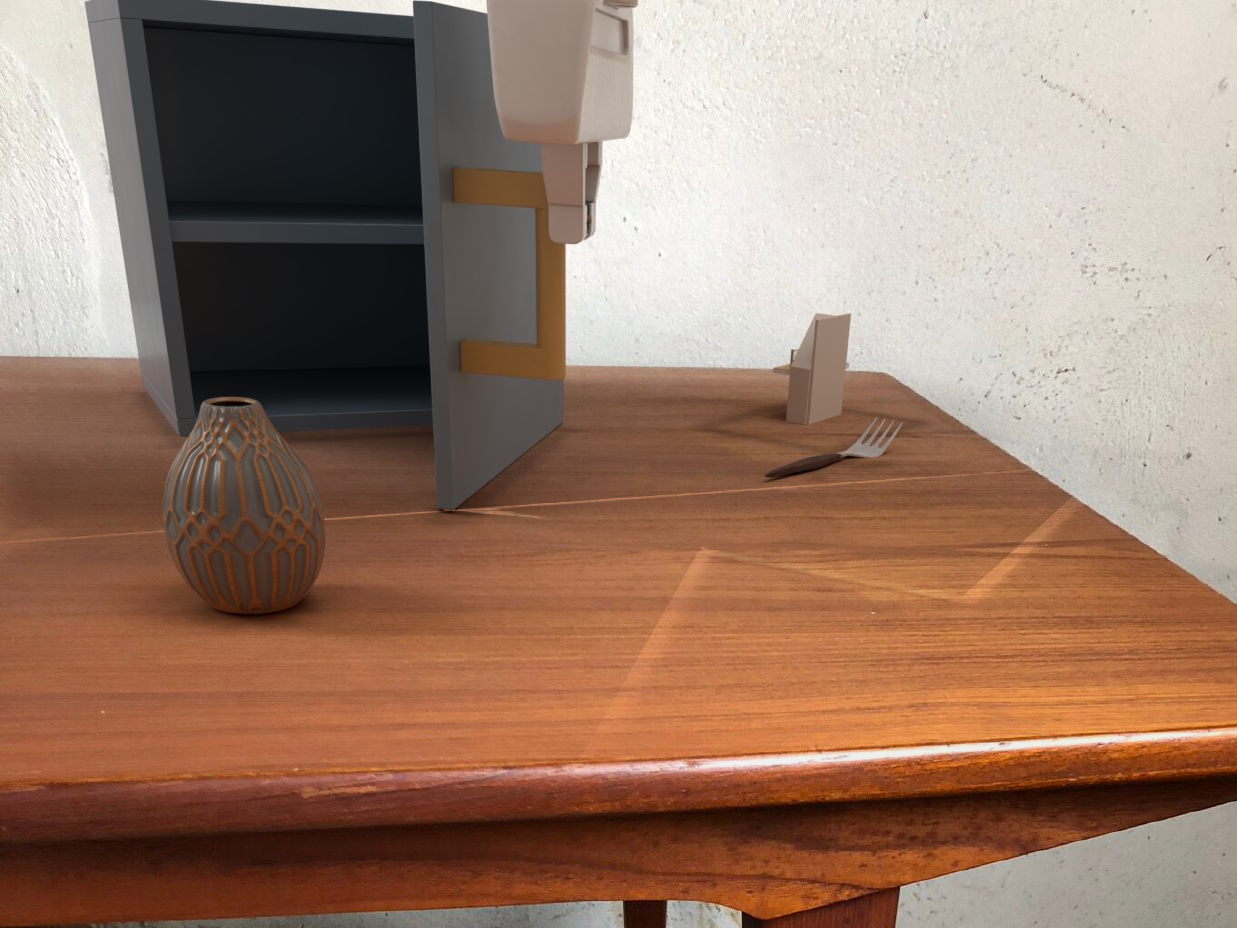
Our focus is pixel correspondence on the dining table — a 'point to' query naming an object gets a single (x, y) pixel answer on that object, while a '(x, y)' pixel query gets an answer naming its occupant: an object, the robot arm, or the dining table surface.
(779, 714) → the dining table surface
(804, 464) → the fork
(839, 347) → the architectural model
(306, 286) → the cupboard
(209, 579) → the vase
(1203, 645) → the dining table surface
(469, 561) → the dining table surface
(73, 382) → the dining table surface
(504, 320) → the cupboard door
